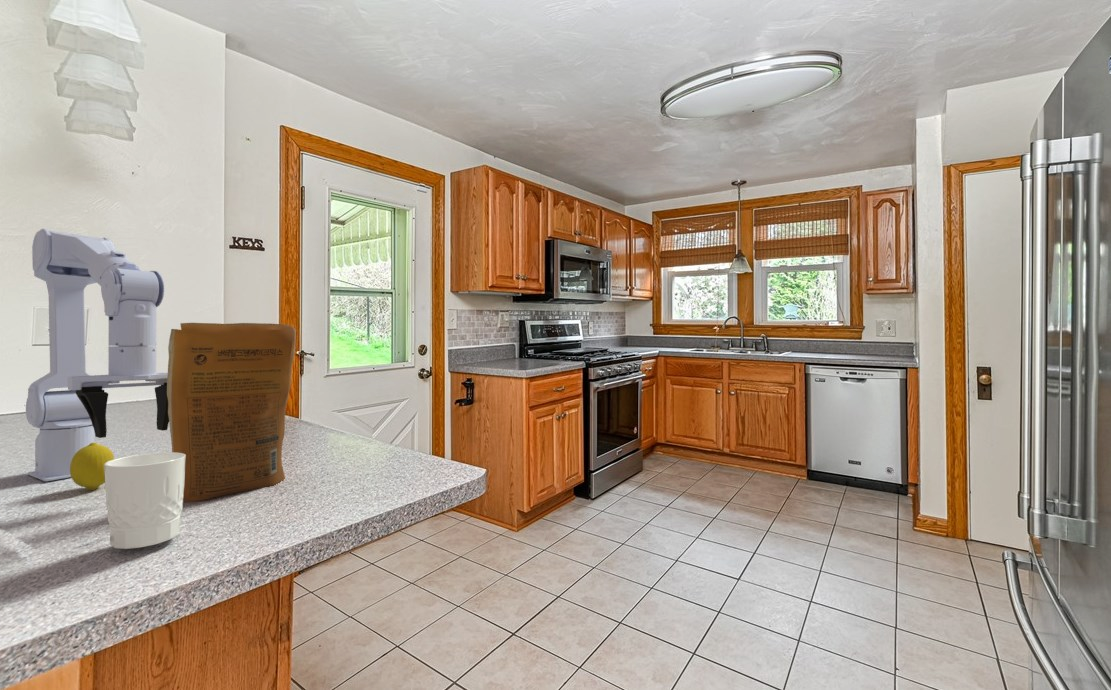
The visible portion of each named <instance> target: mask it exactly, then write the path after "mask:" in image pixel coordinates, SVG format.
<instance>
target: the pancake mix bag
mask: <svg viewBox="0 0 1111 690" xmlns="http://www.w3.org/2000/svg"><path fill="white" fill-rule="evenodd" d="M179 324H180V329H177V328H171V329H170V335H169V340H168V347H167V350H168V364H167V373H168V377H167V397H168V415H169V424H168V425H169V433H170V438H171V439H170V440H171V452H175V453H183V454H185V455H186V460H185V479H184V492H183V503H197V502H205V501H210V500H214V499H220V498H223V497H229V496H234V495H238V494H241V493H246V492H250V491H255V490H259V489H264V488H271V487H270V486H273V487H275V486H277V485H279V484H281V483H282V482H284V481H285V480H286V476H285V472H284V468H283V461H282V452H283V443H284V437H285V431H286V429H285V425H286V408H287V404H288V399H289V394H290V390H291V380H292V371H293V362H294V358H295V352H296V351H295V349H296V339H297V338H296V335H297V329H296V328H295V327H293V326H292V325H290V324H283V323H262V322H259V323H257V322H239V323H237V322H235V323H234V322H233V323H215V322H214V323H209V322H180V323H179ZM284 479H285V480H284ZM281 481H282V482H281ZM280 482H281V483H280ZM278 483H279V484H278ZM276 484H277V485H276ZM274 485H275V486H274Z"/></svg>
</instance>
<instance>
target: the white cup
mask: <svg viewBox="0 0 1111 690" xmlns="http://www.w3.org/2000/svg"><path fill="white" fill-rule="evenodd" d="M185 460H186V455H185V454H183V453H175V452H172V451H170V452H168V451H167V452H151V453H141V454H135V455H128V456H122V457H117V458H114V460H111V461H108V462H106V463H105V464H104V470H105V483H104V484H105V485H104V486H105V501H106V502H105V503H106V508H107V509H106V510H107V521H108V525H109V530H108V531H109V545H110V546H111V547H112V548H114V549H119V550H121V549H122V550H123V549H124V550H127V549H128V550H129V549H137V548H144V547H150V546H154V545H157V544H161V543H164V542H167V541H169V540H172V539H174V538H176V537H178V536H179V534H180V532H181V522H182V521H181V520H182V516H181V515H182V512H183V504H184V502H183V492H184V479H185Z"/></svg>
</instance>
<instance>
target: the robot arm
mask: <svg viewBox="0 0 1111 690" xmlns="http://www.w3.org/2000/svg"><path fill="white" fill-rule="evenodd" d="M31 247H32V251H31V254H32V255H31V256H32V260H31V261H32V270H33V272H34V273H33V276H34V277H35V278H38V279H40V280H41V281H43V282H45V285H46V288H47V294H48V327H49V328H48V332H49V336H48V338H49V339H48V341H49V372H48V373H47V374H44V375H43V376H41V377H40V378H38V379H36V380H34V381H33V382H32V383H31V384H30V385H29V386H28V387H27V388H28V389H27V397H26V402H25V417H26V420H27V422H28V424H29V425H31V426H32V427H33V428H36V429H39V432H38V434H37V436H36V437H35V443H34V449H35V450H34V471H33V470H32V471H28V472H27V475H28V476H30V477H31V478H36V479H39V480H40V481H43V482H49V481H51V482H52V481H57V480H62V479H68V478H71V474H70V465H71V461H72V458H73V456H74V455H75V454H76V453H77V452H78V451H79V450H80V449H82V448H83V447H86V446H88V445H89V444H90V443H95V438H98V439H102V438H103V439H104V438H106V437H107V429H108V428H107V416H106V415H107V411H108V399H109V393H108V392H106V391H105V389H114V388H131V387H133V388H134V387H149V386H150V387H151V386H154V394H155V399H156V430H158V431H168V428H169V425H170V424H169V415H168V397H167V377H168V372H157V308H158V307H160V305H162V302H163V299H164V297H165V296H164V295H165V283H164V278H163V277H162V275H161V274H160V272H159V271H157V270H150V271H149V270H148V271H147V270H143V269H141V268H140V267H139V266H138V265H137V264H135V263H134V262H132V261H131V259H129V258H128V257H127V256H126V254H125V252H123V251H118V250H116V248H115V245H114V243H113V241H112V240H110V238H108V237H96V236H89V235H81V234H74V233H68V232H62V231H55V230H49V229H48V228H41V229H40V230H39V231H37V232H35V235H34V237H33V240H32V246H31ZM93 284H98V285H99V286H100V291H101V298H102V301H103V304H104V305H103V307H104V308H103V309H104V311H103V312H104V315H105V316H107V317H108V348H107V349H108V350H107V352H108V365H107V366H108V372H107V373H108V374H99V375H98V374H97V375H96V374H95V375H92V374H90V373H88V372H87V365H86V363H87V361H86V324H85V322H86V321H85V319H86V317H85V314H86V313H85V288H86V287H87V286H88V285H93ZM130 381H131V382H133V381H134V382H133V383H120V382H130ZM135 381H145V382H135ZM63 388H67V390H66V389H65V390H53V391H52V389H63ZM50 390H51V391H50Z"/></svg>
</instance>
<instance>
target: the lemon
mask: <svg viewBox="0 0 1111 690" xmlns="http://www.w3.org/2000/svg"><path fill="white" fill-rule="evenodd" d="M114 459H115V457H114V454H113V452H112V451H111V449H110V448H108V447H107V446H105V445H102V444H98V443H97V442H94V443H90V444H89V445H88V446H86V447H83V448H82V449H80V450H79V451H78V452H77V453H76V454H75V455H74V456H73V458H72V461H71V465H70V474H71V477H70V478H71V479H72V481H73V482H74V483H75V484H76V485H78V486H80V487H82V488H86V489H87V490H89V491H94V490H97V489H98V488H99V487H100V486H103V485H104V484H105V470H104V464H105V463H106V462H108V461H111V460H114Z"/></svg>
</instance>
